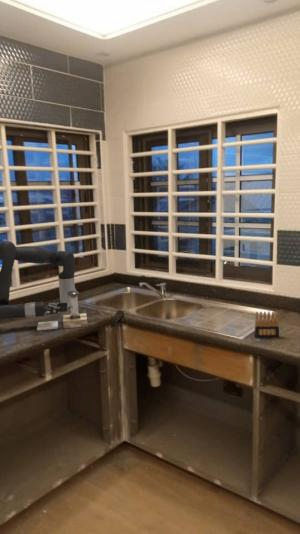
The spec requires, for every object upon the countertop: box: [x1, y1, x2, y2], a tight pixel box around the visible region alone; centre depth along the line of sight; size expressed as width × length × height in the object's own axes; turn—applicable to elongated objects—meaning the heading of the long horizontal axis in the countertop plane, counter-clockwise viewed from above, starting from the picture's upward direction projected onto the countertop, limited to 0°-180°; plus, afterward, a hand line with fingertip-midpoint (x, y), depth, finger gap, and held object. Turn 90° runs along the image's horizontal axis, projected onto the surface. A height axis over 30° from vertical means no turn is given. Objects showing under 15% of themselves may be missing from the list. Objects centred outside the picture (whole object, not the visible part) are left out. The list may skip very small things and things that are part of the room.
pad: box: [36, 320, 59, 331], centre depth 212 cm, size 10×10×1 cm
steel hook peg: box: [67, 290, 80, 319], centre depth 213 cm, size 6×6×17 cm
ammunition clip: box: [253, 311, 280, 339], centre depth 184 cm, size 11×2×12 cm, turn 86°
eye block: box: [62, 312, 89, 329], centre depth 214 cm, size 12×12×4 cm
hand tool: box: [110, 309, 125, 328], centre depth 214 cm, size 19×4×5 cm, turn 168°
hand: (67, 306), depth 212 cm, fingers open, 8 cm apart
